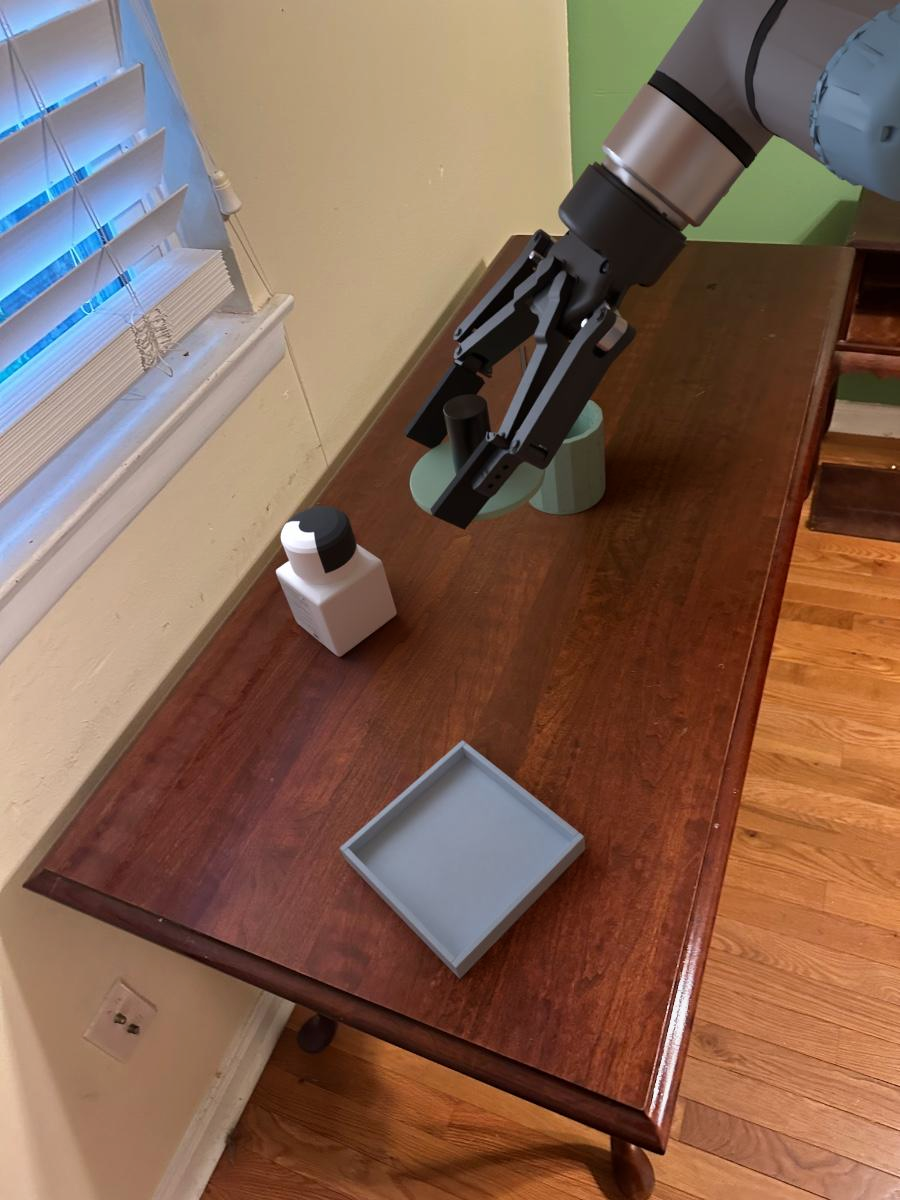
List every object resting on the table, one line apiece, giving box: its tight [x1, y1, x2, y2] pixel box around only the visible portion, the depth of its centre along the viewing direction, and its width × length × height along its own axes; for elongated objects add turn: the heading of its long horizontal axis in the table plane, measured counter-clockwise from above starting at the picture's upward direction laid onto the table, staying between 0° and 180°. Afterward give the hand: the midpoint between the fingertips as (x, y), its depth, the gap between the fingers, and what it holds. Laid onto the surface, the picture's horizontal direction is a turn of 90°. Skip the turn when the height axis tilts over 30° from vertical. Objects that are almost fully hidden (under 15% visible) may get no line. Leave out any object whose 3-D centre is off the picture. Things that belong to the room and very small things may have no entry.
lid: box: [409, 394, 545, 523], centre depth 60 cm, size 10×10×7 cm
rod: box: [519, 344, 528, 378], centre depth 114 cm, size 1×19×1 cm, turn 179°
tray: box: [339, 739, 586, 979], centre depth 66 cm, size 14×14×2 cm
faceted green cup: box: [517, 399, 606, 516], centre depth 93 cm, size 9×9×10 cm
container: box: [275, 505, 397, 658], centre depth 83 cm, size 8×8×13 cm
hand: (432, 478), depth 61 cm, fingers closed on lid, 9 cm apart
